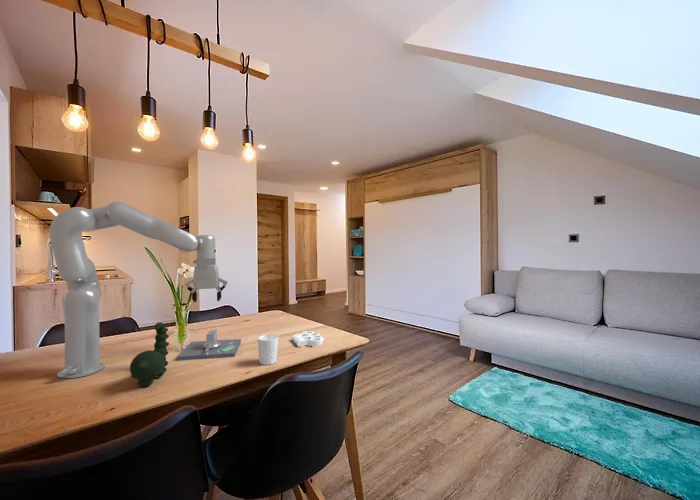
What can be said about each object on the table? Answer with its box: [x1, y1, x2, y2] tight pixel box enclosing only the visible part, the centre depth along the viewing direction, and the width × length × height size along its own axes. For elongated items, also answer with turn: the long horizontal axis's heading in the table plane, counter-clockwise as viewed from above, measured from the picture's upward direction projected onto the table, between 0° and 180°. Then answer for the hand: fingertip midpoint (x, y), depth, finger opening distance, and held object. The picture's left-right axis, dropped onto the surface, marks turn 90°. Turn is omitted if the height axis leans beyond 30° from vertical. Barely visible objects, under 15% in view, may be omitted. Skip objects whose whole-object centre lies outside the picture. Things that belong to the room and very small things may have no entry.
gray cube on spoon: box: [203, 329, 220, 351], centre depth 131 cm, size 7×14×6 cm, turn 13°
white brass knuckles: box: [291, 330, 325, 347], centre depth 148 cm, size 3×18×15 cm
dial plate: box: [176, 338, 242, 361], centre depth 134 cm, size 20×22×2 cm
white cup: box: [257, 334, 279, 366], centre depth 121 cm, size 8×8×10 cm
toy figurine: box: [129, 321, 170, 388], centre depth 106 cm, size 9×19×25 cm
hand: (207, 301), depth 134 cm, fingers open, 9 cm apart
